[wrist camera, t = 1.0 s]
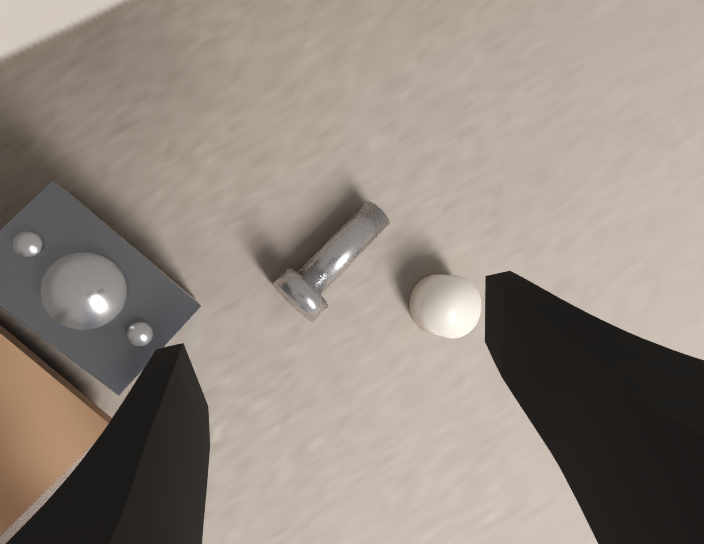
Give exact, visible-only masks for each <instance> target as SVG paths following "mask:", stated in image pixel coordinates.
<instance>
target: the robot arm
mask: <svg viewBox="0 0 704 544" xmlns="http://www.w3.org/2000/svg"><path fill="white" fill-rule="evenodd" d="M485 343H486V345H487V347H488V349H489V351H490V354H491V356H492V358H493V360H494V362H495V364H496V366H497V368H498V370H499V372H500V374H501V376H502V378H503V380H504V381H505V383H506V384H507V386H508V387H509V389H510V391H511V392H512V394H513V395H514V397H515V398H516V400H517V401H518V403H519V404H520V406H521V407H522V409H523V410H524V412H525V414H526V415H527V417H528V418H529V420H530V421H531V423H532V424H533V426H534V427H535V429H536V430H537V432H538V433H539V435H540V436H541V438H542V439H543V441H544V442H545V444H546V445H547V447H548V449H549V450H550V452H551V453H552V455H553V457H554V458H555V460H556V462H557V463H558V465H559V467H560V469H561V470H562V472H563V474H564V476H565V478H566V480H567V482H568V484H569V486H570V488H571V490H572V492H573V494H574V496H575V497H576V499H577V501H578V503H579V505H580V507H581V509H582V511H583V513H584V515H585V517H586V520H587V522H588V524H589V526H590V528H591V530H592V532H593V534H594V536H595V538H596V540H597V542H598V544H704V360H701V359H698V358H695V357H691V356H688V355H686V354H683V353H680V352H677V351H674V350H671V349H669V348H666V347H663V346H661V345H658V344H656V343H653V342H650V341H648V340H645V339H643V338H640V337H638V336H636V335H633V334H631V333H629V332H626V331H624V330H622V329H620V328H618V327H616V326H613V325H611V324H609V323H607V322H605V321H603V320H601V319H599V318H597V317H595V316H593V315H591V314H589V313H587V312H585V311H583V310H581V309H579V308H577V307H575V306H573V305H571V304H569V303H568V302H566V301H564V300H562V299H560V298H558V297H557V296H555V295H553V294H551V293H549V292H548V291H546V290H544V289H542V288H541V287H539V286H537V285H535V284H533V283H532V282H530V281H528V280H526V279H524V278H523V277H521V276H519V275H517V274H515V273H513V272H511V271H507V272H502V273H498V274H493V275H489V276H486V289H485ZM209 453H210V433H209V413H208V405H207V402H206V399H205V397H204V394H203V392H202V389H201V387H200V384H199V382H198V379H197V377H196V374H195V372H194V369H193V367H192V364H191V361H190V359H189V356H188V354H187V351H186V349H185V346H184V344H183V343H182V344H177V345H173V346H168V347H164V348H159V349H156V350H155V352H154V353H153V355H152V356H151V358H150V360H149V361H148V363H147V364H146V366H145V368H144V369H143V371H142V372H141V374H140V376H139V377H138V379H137V381H136V382H135V384H134V385H133V387H132V389H131V390H130V392H129V393H128V395H127V397H126V398H125V400H124V401H123V403H122V404H121V406H120V407H119V409H118V410H117V412H116V413H115V415H114V416H113V418H112V419H111V421H110V422H109V424H108V425H107V427H106V428H105V429H104V431H103V432H102V434H101V435H100V436H99V438H98V439H97V440H96V442H95V443H94V445H93V446H92V447H91V449H90V450H89V451H88V453H87V454H86V456H85V457H84V458H83V459H82V461H81V462H80V463H79V465H78V466H77V467H76V468H75V469H74V471H73V472H72V473H71V474H70V476H69V477H68V478H67V479H66V480H65V481H64V482H63V484H62V485H61V486H60V487H59V488H58V489H57V491H56V492H55V493H54V494H53V495H52V496H51V497H50V499H49V500H48V501H47V502H46V503H45V504H44V505H43V506H42V507H41V508H40V509H39V510H38V511H37V512H36V513H35V514H34V515H33V516H32V517H31V518H30V519H29V520H28V522H27V523H26V524H25V525H24V526H23V527H22V528H21V529H20V530H19V531H18V532H17V533H16V534H15V535H14V536H13V537H12V538H11V539H10V540H9V541H8V542H7V543H6V544H202V535H203V523H204V512H205V500H206V489H207V478H208V465H209Z"/></svg>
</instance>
